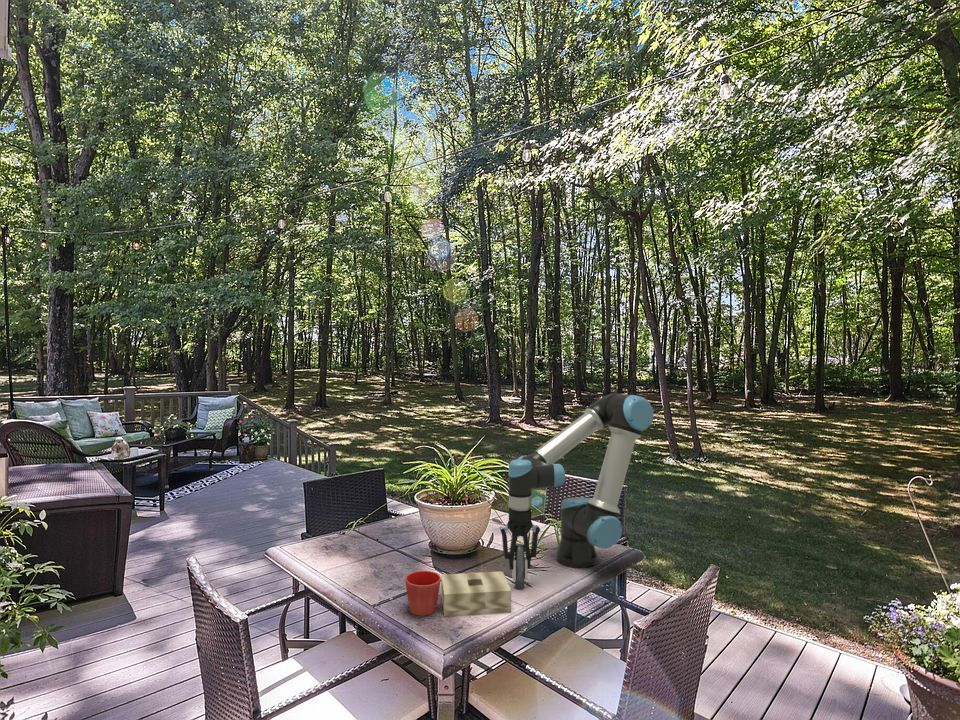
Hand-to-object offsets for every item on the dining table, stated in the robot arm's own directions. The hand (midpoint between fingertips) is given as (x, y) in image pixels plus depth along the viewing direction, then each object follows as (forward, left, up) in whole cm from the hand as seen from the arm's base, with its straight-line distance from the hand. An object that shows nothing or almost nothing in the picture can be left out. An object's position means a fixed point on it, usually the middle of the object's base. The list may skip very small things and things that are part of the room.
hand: (519, 578), depth 173 cm
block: (+16, +9, -3) cm, 19 cm away
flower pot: (+32, +11, -3) cm, 34 cm away
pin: (0, 0, -3) cm, 3 cm away
